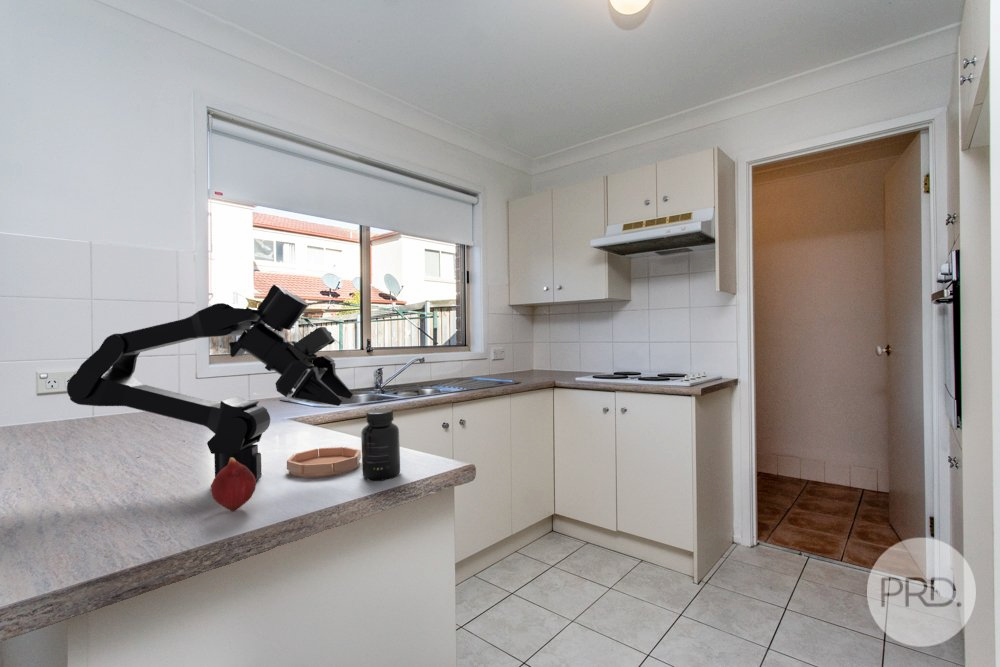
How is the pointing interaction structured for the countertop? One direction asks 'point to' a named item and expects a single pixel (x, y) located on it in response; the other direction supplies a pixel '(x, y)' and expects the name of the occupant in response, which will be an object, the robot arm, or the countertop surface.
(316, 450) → the terracotta saucer
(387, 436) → the supplement bottle
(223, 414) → the robot arm
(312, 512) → the countertop surface
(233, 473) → the onion
